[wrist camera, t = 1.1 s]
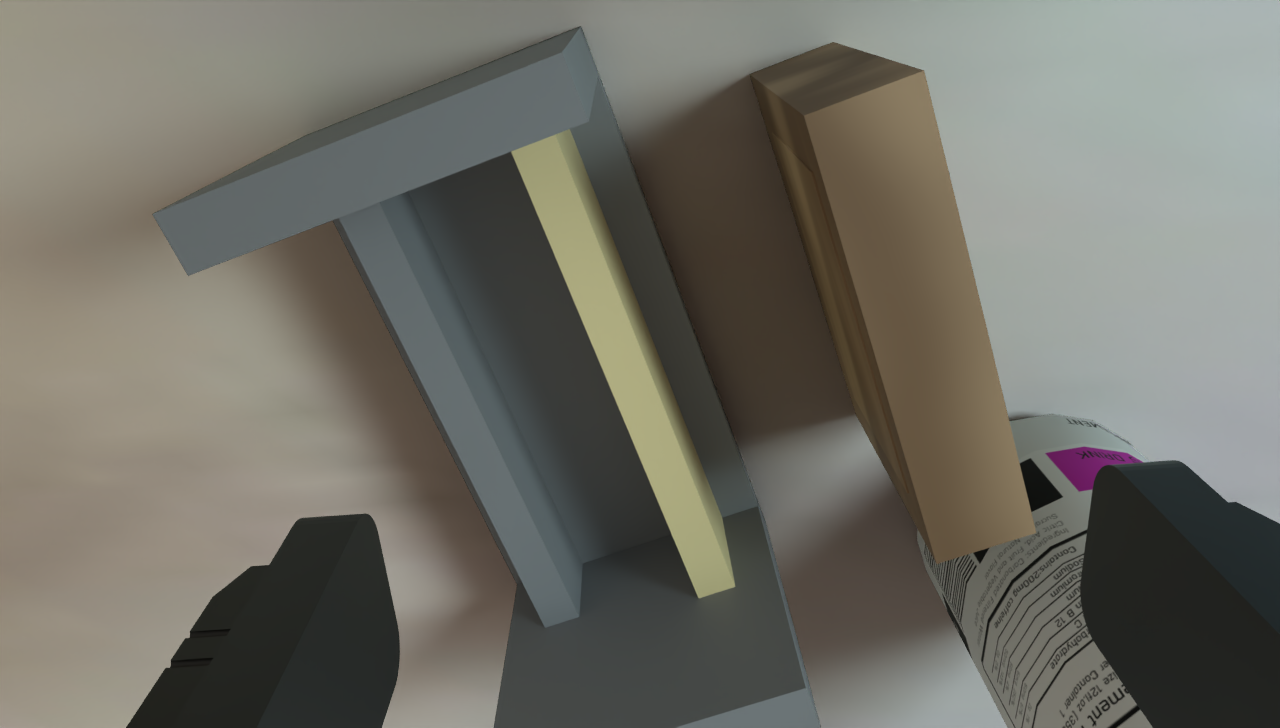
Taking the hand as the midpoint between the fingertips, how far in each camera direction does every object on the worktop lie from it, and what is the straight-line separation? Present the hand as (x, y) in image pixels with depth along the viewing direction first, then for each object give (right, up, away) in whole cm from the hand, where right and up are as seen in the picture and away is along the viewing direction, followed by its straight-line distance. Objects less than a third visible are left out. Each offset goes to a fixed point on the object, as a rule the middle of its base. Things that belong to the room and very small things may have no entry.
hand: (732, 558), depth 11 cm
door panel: (+6, +6, +20) cm, 21 cm away
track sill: (-4, +3, +21) cm, 21 cm away
